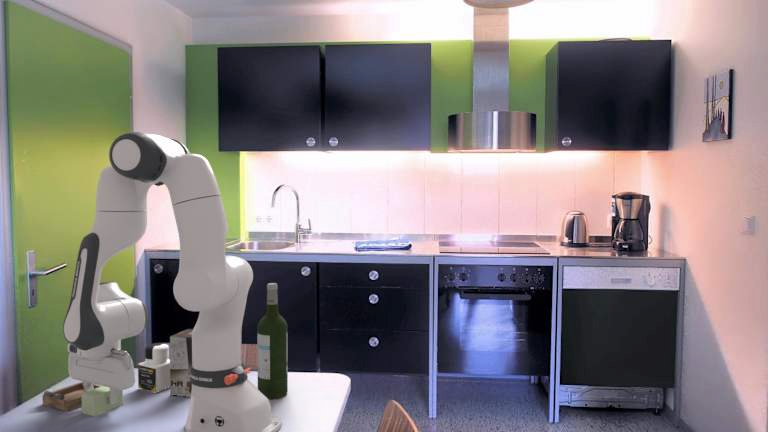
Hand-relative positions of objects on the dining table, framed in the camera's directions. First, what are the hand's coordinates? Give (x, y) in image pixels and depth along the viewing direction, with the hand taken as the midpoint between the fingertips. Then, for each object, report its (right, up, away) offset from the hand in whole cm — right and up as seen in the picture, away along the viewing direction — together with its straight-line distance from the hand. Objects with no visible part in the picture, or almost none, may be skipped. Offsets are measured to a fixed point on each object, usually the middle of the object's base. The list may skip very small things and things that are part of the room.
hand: (101, 400), depth 137 cm
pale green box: (0, -2, 0) cm, 2 cm away
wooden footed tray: (-10, -2, +5) cm, 11 cm away
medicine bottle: (+8, -2, +15) cm, 17 cm away
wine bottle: (+41, -2, +11) cm, 42 cm away
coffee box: (+17, -2, +13) cm, 22 cm away
